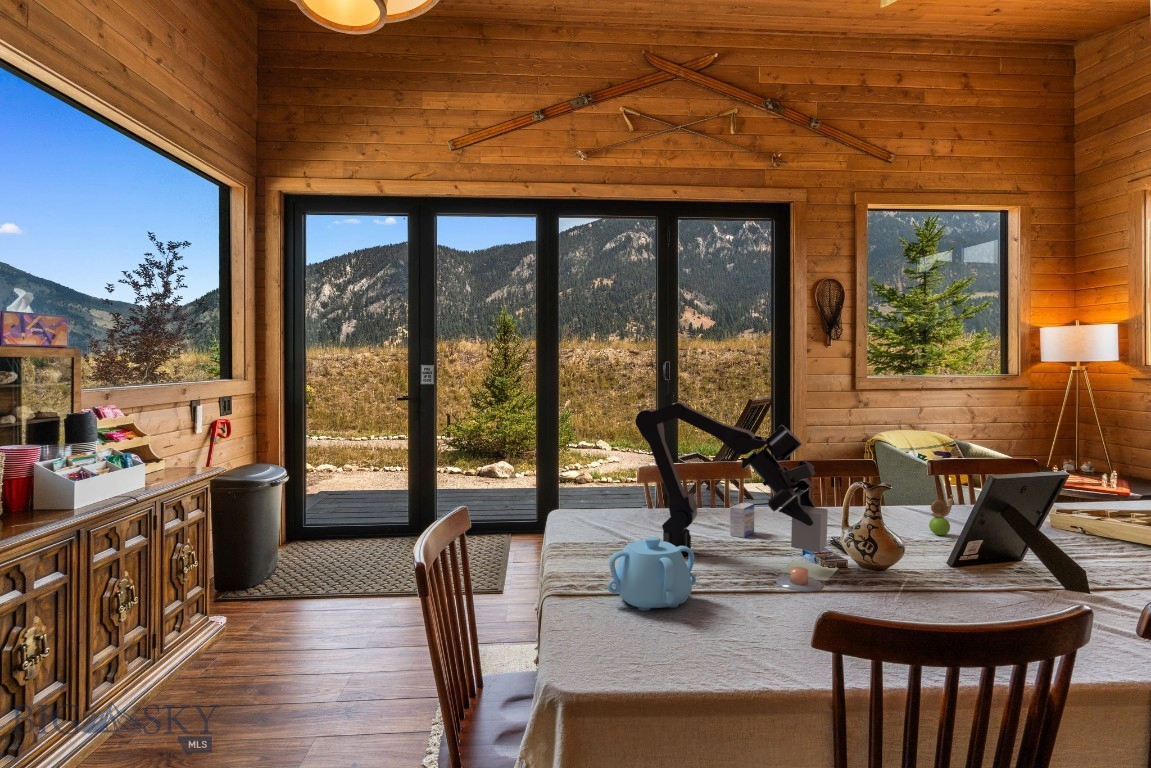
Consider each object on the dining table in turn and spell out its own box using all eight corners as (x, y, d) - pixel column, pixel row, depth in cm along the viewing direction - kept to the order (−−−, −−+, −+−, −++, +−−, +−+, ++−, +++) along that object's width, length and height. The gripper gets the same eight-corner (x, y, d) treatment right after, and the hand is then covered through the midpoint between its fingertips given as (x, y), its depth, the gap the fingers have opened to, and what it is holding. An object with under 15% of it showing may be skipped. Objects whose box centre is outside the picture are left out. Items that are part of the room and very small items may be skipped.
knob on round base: (796, 595, 139) (796, 579, 139) (766, 580, 148) (767, 565, 148) (832, 589, 142) (832, 573, 142) (801, 575, 152) (801, 560, 152)
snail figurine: (957, 537, 186) (958, 496, 185) (935, 537, 186) (936, 496, 186) (946, 532, 191) (947, 493, 191) (925, 532, 191) (926, 492, 191)
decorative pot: (668, 623, 124) (669, 554, 123) (599, 604, 133) (599, 539, 133) (703, 598, 137) (704, 536, 136) (638, 582, 146) (639, 524, 146)
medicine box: (744, 538, 184) (744, 508, 184) (729, 535, 187) (729, 506, 186) (754, 532, 190) (754, 503, 190) (740, 530, 193) (740, 501, 193)
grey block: (791, 547, 153) (792, 510, 153) (798, 541, 159) (799, 505, 159) (819, 552, 150) (820, 514, 149) (826, 545, 155) (827, 509, 155)
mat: (779, 573, 154) (779, 571, 154) (792, 561, 163) (792, 559, 163) (827, 582, 147) (827, 580, 147) (838, 569, 156) (838, 568, 156)
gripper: (783, 454, 148) (831, 508, 142) (804, 446, 163) (849, 494, 157) (749, 484, 153) (795, 538, 147) (773, 473, 168) (815, 521, 162)
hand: (815, 521), depth 153 cm, fingers closed on grey block, 7 cm apart
